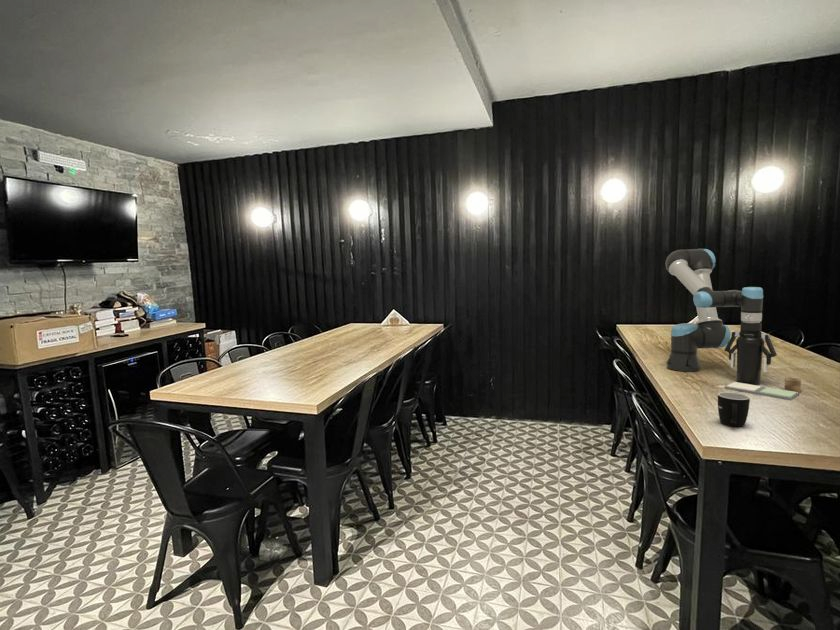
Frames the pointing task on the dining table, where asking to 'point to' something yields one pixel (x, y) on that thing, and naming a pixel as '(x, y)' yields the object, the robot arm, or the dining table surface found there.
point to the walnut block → (792, 384)
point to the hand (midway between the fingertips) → (748, 369)
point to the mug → (733, 408)
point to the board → (762, 390)
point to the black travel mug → (749, 359)
